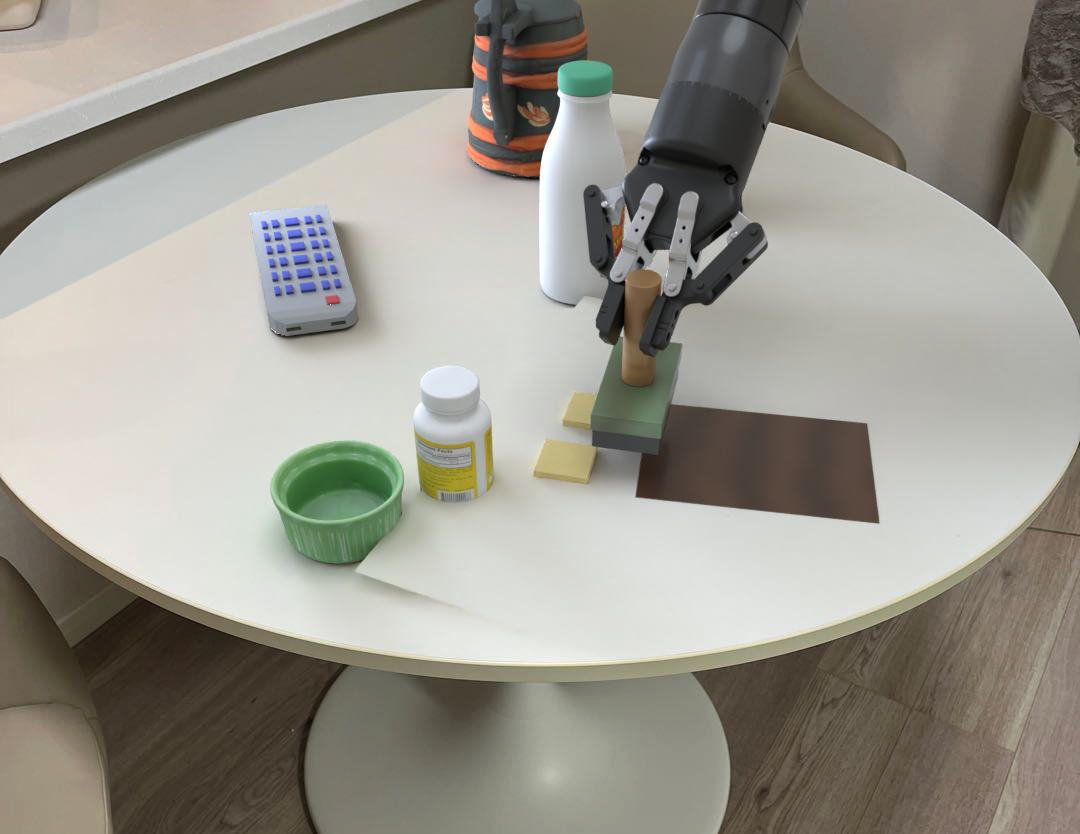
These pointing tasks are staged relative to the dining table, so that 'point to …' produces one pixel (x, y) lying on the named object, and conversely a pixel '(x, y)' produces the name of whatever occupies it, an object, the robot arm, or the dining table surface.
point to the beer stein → (520, 79)
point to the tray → (763, 464)
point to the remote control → (302, 271)
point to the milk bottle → (577, 181)
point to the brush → (636, 378)
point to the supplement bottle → (453, 436)
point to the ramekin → (338, 499)
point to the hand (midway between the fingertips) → (627, 346)
